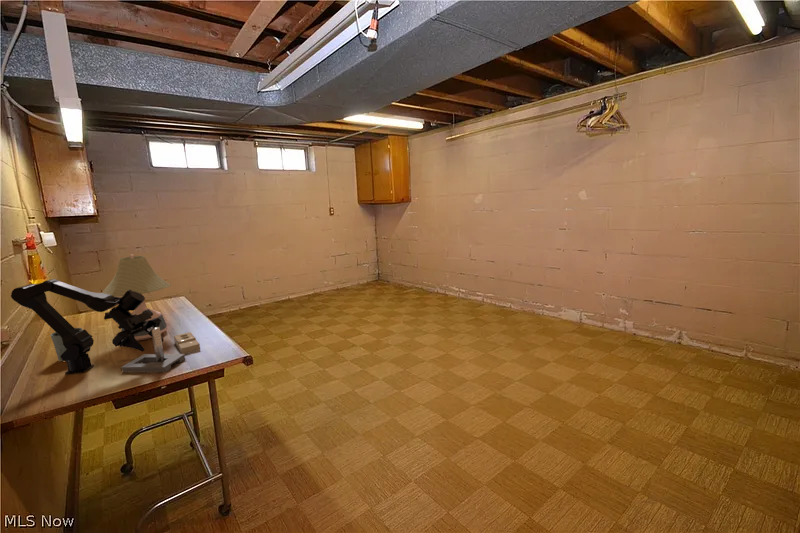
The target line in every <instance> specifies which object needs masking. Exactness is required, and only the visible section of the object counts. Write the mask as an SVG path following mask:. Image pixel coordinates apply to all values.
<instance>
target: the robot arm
mask: <svg viewBox="0 0 800 533" xmlns="http://www.w3.org/2000/svg"><path fill="white" fill-rule="evenodd" d="M46 292H50V293H54V294H57V295H59V296H62V297H65V298H68V299H71V300H74V301H78V302H80V303H83V304H84V305H85V306H87V308H88V309H91V310H93V311H95V312H97V313H103V312H105V313H104V316H103V320H111V319H112V320H113V321H114V322H115V323H117V325H118V326H117V328H118V329H119V330H120V332H119V331H118V332H117V334H116V335H115V336H114V337H113V339H112V344H113V345H114V346H115V347H116V348H117V347H120V348H121V347H125V348H130V349H133V350H137V351H141V352H144V351H145V350H146V349H145V347H144V346H143V345H142V344H141V343H140V342H139V340H136V339H135V337H134V335H135V334H138V333H140V332H142V331H146V332H149V333H148V335H150V336H152V331H151V329H152V328H155V327H159V325H160V323H161V322H162V321H161V320H160V319H159V318H154V319H152V320H149V321H148V323H147V324H146V325H144V324H145V323H146V320H148V319H151V318H152V317H151V316H153V313H152V311H150V310H149V309H150V308H148V309H147V310H145V311H143V313H141V314H139V315H137V314H135V315H132V314H131V313H132V312H133V311H135V309H136V308H137V307H138V306H139V305H140V304H141V303H142V302H143V301H146V297H145V296H144V295H143V294H140V293H138V292H135V291H132V290H128V291H127V292H126V293H125V294H124V296H112V295H109V294H104V293H103V292H92V291H89V290H87V289H83V288H80V287H78V286H74V285H71V284H69V283H65V282H64V281H63V282H62V281H60V280H58V279H56V278H53V279H52V278H51V279H47V280H45V281H43V282H40V283H37V284H35V283H30V284H26V285H22V286H19V287H15V288H14V289H13V290H12V291H11V293H10V298H11V300H12V301H14V302H16V303H17V304H19V305H20V306H21V307H24V308H27V309H30V310H31V311H33V312H34V313H35V314H36V315H37V316H39V318H40V319H41V320H43V321H44V322H45V323H46V325H48V326H49V327H50V328H51V329H52V330H53V331H54V333H55V332H56V333H57V334H58V335H59V336H61V338H62V341H63V345H64V347H65V348H66V349H67V350H66V351H65V352H64V353H63V354H62V355H61V356H60V357H61V358H62V360H63V361H66V366H67V371H66V372H64V374H65V375H71V374H82V373H84V372H86V371H87V370H89V369H92V367H94V364H92V362H91V358H90V356H89V353H88V352H90V351H91V348H92V347H93V345H94V342H95V340H94V338H93V335H91V334H90V333H89V332H88V331H87V330H86V329H83V330H82V331H79V330H76V329H75V328H76V327H74V326H73V325H72V324H71V323H70V322H69V321H68V320H67V319H65V318H64V317H63V315H61V314H60V313H59V312H58V311H57V309H55V307H54V306H52V304H50V303H49V302H48V299H47V295H46ZM108 310H109V311H108ZM106 311H107V312H106ZM130 311H132V312H130ZM122 328H123V329H124V331H121V330H122ZM161 339H162V343H163V341H164V339H163V337H162V335H161Z"/></svg>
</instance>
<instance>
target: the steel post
mask: <svg viewBox="0 0 800 533" xmlns="http://www.w3.org/2000/svg"><path fill="white" fill-rule="evenodd" d="M151 331H152V337H153V338H152V343H153V348H154V354H155V355H156V361H157V362H163V361H165V358H164V354H165V352H164V347H163V346H164V345H163V342H162V339H161V336H162V333H160V327H155V328H152V329H151Z"/></svg>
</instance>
